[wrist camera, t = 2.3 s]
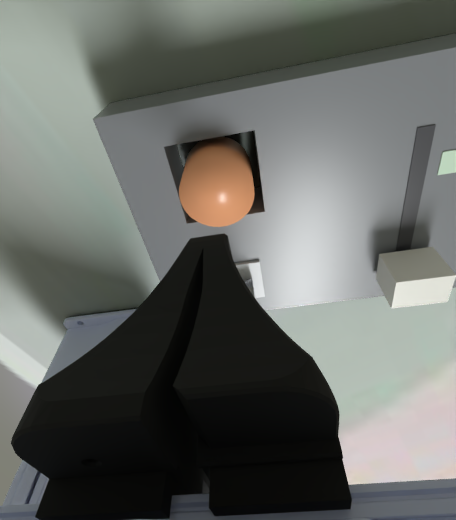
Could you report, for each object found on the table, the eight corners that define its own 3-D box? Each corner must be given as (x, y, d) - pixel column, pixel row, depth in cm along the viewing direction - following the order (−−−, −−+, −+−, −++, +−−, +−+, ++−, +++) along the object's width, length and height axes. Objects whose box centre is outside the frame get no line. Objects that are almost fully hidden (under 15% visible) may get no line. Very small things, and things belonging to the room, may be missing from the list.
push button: (194, 203, 19) (189, 231, 17) (177, 142, 17) (169, 165, 15) (255, 193, 19) (258, 221, 17) (246, 130, 17) (249, 151, 14)
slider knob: (375, 278, 21) (391, 308, 19) (379, 253, 19) (396, 282, 17) (426, 272, 20) (447, 301, 18) (433, 246, 19) (456, 275, 17)
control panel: (181, 291, 26) (176, 323, 23) (111, 102, 17) (91, 120, 15) (450, 256, 24) (476, 287, 21) (522, 19, 15) (580, 23, 13)
